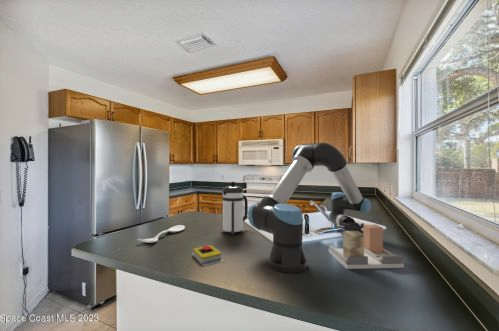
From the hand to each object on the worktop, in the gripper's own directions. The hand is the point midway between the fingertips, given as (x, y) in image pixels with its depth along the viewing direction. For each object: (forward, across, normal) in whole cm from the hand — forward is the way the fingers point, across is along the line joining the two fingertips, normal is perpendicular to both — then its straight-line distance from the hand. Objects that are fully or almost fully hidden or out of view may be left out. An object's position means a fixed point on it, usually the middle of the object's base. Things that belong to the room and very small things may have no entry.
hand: (370, 235), depth 104 cm
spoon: (-29, +101, -8) cm, 106 cm away
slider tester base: (+7, +8, -8) cm, 13 cm away
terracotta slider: (+3, +1, -6) cm, 7 cm away
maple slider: (+12, +15, -6) cm, 20 cm away
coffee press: (-36, +63, -8) cm, 73 cm away
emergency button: (+2, +74, -9) cm, 75 cm away
